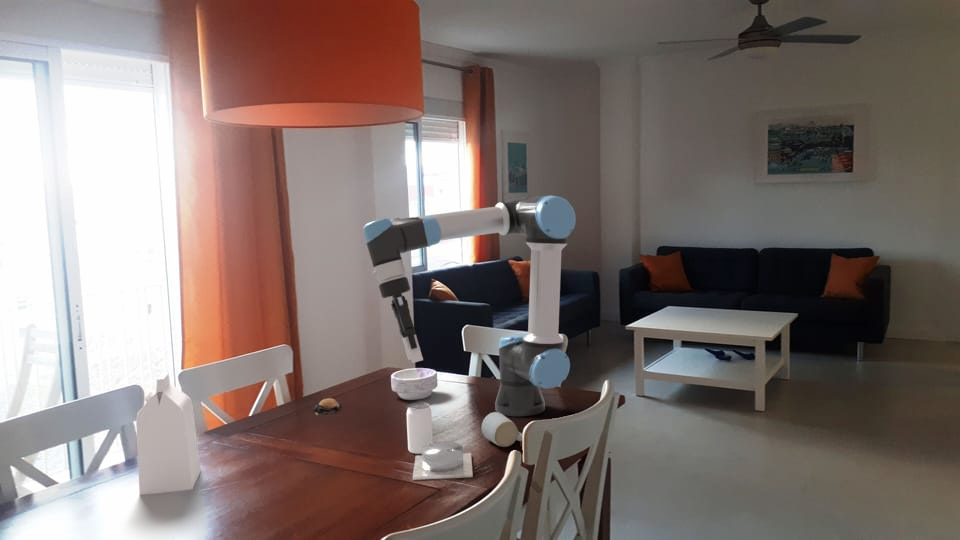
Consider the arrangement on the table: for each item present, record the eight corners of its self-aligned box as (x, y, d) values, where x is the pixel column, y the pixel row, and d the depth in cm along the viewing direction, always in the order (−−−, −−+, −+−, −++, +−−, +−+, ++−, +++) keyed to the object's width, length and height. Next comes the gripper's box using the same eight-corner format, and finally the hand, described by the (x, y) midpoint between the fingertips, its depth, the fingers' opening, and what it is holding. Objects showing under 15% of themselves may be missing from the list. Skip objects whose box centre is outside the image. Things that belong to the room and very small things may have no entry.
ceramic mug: (495, 450, 191) (495, 421, 190) (481, 441, 198) (480, 413, 198) (531, 444, 196) (530, 415, 195) (515, 435, 203) (515, 408, 203)
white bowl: (382, 398, 244) (381, 375, 243) (413, 388, 256) (412, 365, 255) (416, 405, 235) (415, 381, 234) (447, 394, 247) (446, 370, 246)
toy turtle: (314, 407, 239) (313, 396, 238) (341, 405, 240) (340, 393, 240) (313, 416, 228) (312, 405, 228) (341, 414, 230) (340, 402, 229)
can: (438, 449, 194) (436, 404, 193) (420, 456, 189) (418, 410, 188) (421, 444, 198) (419, 400, 197) (403, 451, 193) (400, 406, 192)
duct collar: (471, 456, 188) (470, 437, 188) (472, 477, 174) (471, 457, 174) (415, 458, 188) (414, 440, 187) (412, 480, 174) (411, 460, 173)
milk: (192, 489, 173) (183, 380, 170) (139, 495, 171) (129, 384, 168) (200, 470, 185) (192, 368, 182) (151, 475, 182) (142, 372, 180)
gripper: (376, 286, 200) (398, 361, 200) (379, 281, 176) (404, 367, 175) (403, 278, 202) (425, 353, 201) (410, 272, 177) (434, 358, 177)
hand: (415, 360), depth 188 cm, fingers open, 13 cm apart
